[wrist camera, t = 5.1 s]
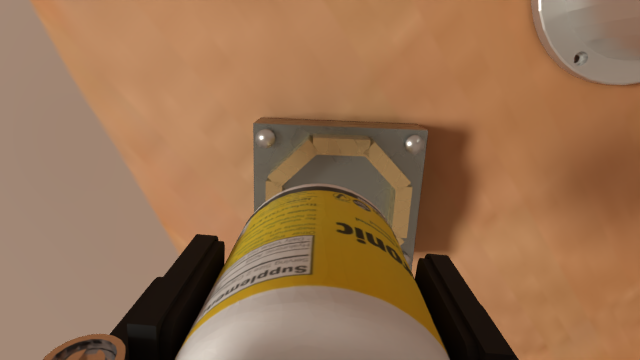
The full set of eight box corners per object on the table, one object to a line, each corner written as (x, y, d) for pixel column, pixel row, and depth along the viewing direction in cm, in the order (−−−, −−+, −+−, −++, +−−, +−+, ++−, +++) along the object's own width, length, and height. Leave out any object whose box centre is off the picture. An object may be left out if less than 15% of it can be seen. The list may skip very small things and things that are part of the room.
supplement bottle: (421, 282, 13) (655, 795, 4) (288, 341, 14) (212, 887, 5) (354, 149, 12) (460, 434, 3) (211, 221, 13) (-113, 644, 3)
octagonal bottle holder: (416, 123, 26) (435, 134, 22) (402, 252, 29) (416, 284, 25) (260, 117, 26) (248, 126, 22) (261, 246, 29) (250, 278, 25)
